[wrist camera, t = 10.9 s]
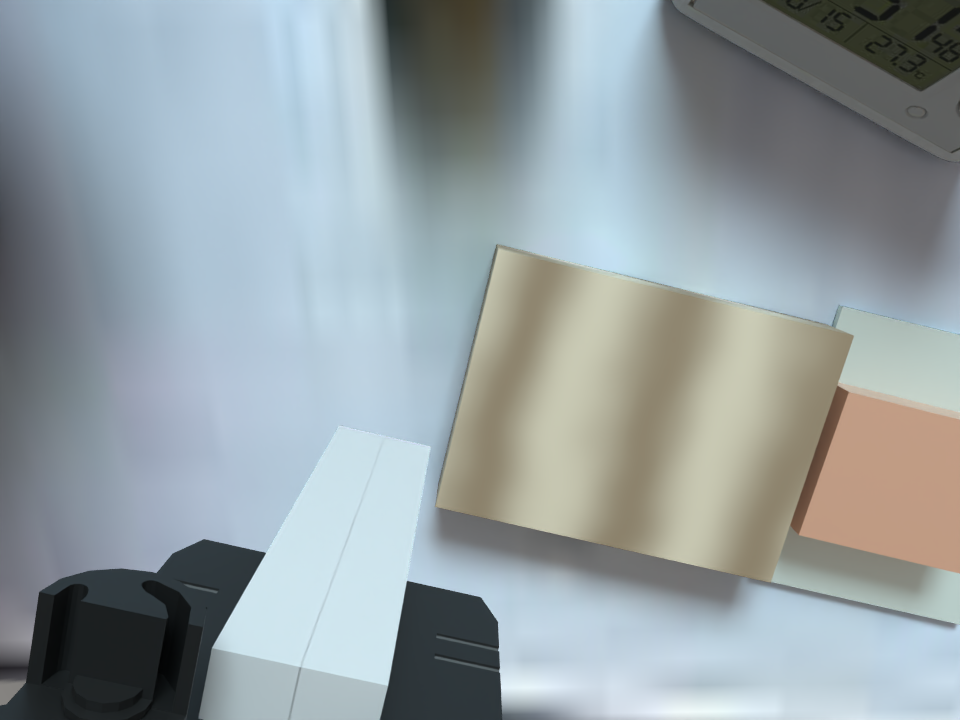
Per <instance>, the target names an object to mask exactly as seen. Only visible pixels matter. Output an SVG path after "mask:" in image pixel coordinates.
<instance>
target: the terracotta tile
mask: <svg viewBox="0 0 960 720" xmlns="http://www.w3.org/2000/svg"><path fill="white" fill-rule="evenodd" d="M790 526H791V527H792V528H793V529H794V530H795V532H796V533H797V534H798V535H800V536H805V537H809V538H813V539H817V540H821V541H825V542H830V543H834V544H838V545H842V546H846V547H851V548H855V549H859V550H863V551H867V552H871V553H876V554H880V555H884V556H888V557H892V558H897V559H901V560H905V561H909V562H913V563H917V564H922V565H926V566H930V567H934V568H938V569H943V570H947V571H951V572H955V573H959V574H960V412H956V411H952V410H948V409H944V408H940V407H936V406H932V405H928V404H924V403H920V402H916V401H912V400H908V399H904V398H900V397H896V396H892V395H888V394H884V393H880V392H876V391H872V390H868V389H864V388H860V387H856V386H852V385H848V384H844V383H840V382H838V385H837V388H836V391H835V394H834V397H833V400H832V403H831V406H830V409H829V412H828V415H827V418H826V421H825V423H824V426H823V429H822V432H821V435H820V438H819V441H818V444H817V447H816V450H815V453H814V456H813V459H812V462H811V465H810V468H809V471H808V474H807V477H806V480H805V483H804V486H803V489H802V492H801V494H800V497H799V500H798V503H797V506H796V509H795V512H794V515H793V518H792V521H791V524H790Z"/></svg>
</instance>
